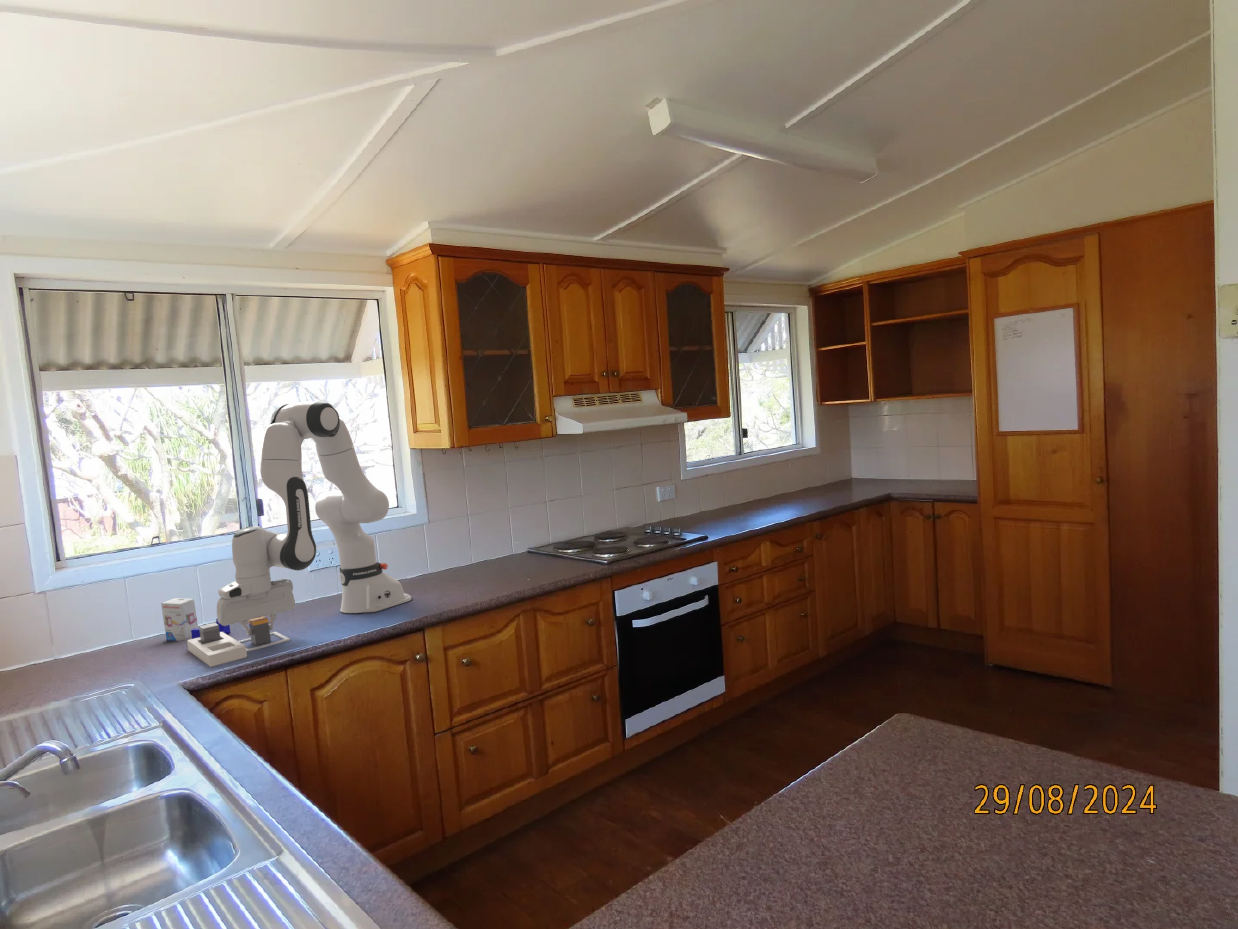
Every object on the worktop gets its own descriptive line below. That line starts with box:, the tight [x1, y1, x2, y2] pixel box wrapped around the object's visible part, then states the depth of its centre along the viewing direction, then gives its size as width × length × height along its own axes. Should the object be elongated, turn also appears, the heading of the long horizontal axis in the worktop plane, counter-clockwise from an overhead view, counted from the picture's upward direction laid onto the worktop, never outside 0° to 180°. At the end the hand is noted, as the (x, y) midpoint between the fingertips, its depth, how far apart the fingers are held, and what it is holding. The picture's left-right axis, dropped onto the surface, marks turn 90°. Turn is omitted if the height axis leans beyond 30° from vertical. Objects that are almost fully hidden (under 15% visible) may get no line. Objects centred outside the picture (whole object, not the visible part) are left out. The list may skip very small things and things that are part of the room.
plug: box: [248, 616, 272, 646], centre depth 218 cm, size 4×4×7 cm
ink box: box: [160, 597, 199, 642], centre depth 232 cm, size 9×5×12 cm, turn 70°
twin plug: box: [198, 622, 221, 644], centre depth 214 cm, size 4×4×7 cm
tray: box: [237, 631, 291, 653], centre depth 218 cm, size 12×12×1 cm
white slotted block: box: [186, 632, 248, 668], centre depth 210 cm, size 9×22×4 cm, turn 42°
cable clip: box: [191, 618, 231, 639], centre depth 225 cm, size 12×4×6 cm, turn 170°
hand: (260, 632), depth 218 cm, fingers closed on plug, 4 cm apart
